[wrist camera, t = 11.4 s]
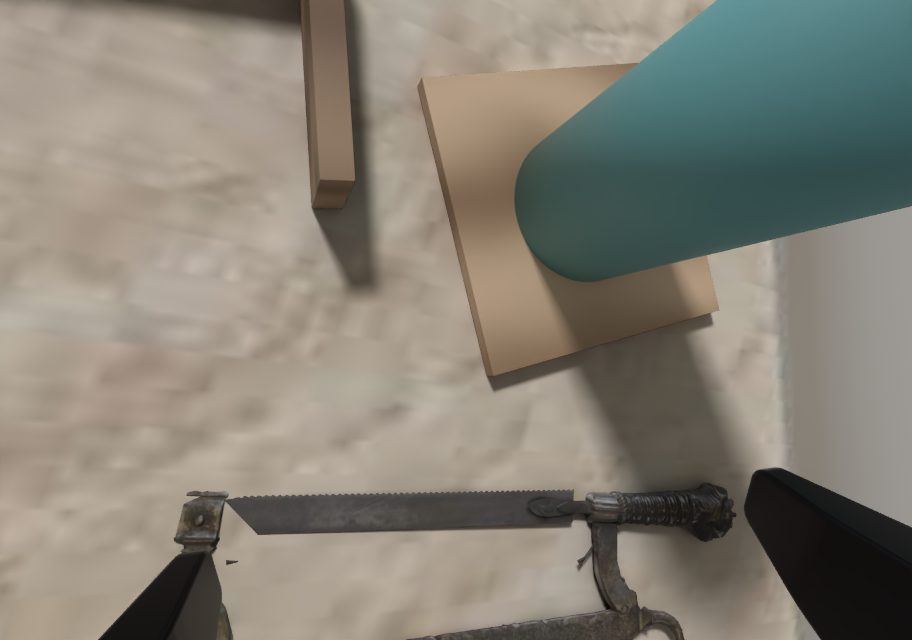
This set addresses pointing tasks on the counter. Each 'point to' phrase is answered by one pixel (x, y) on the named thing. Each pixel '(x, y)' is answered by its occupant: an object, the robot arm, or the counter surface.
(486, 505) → the hacksaw
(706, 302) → the mat
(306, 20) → the cubby
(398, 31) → the counter surface
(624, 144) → the tin
